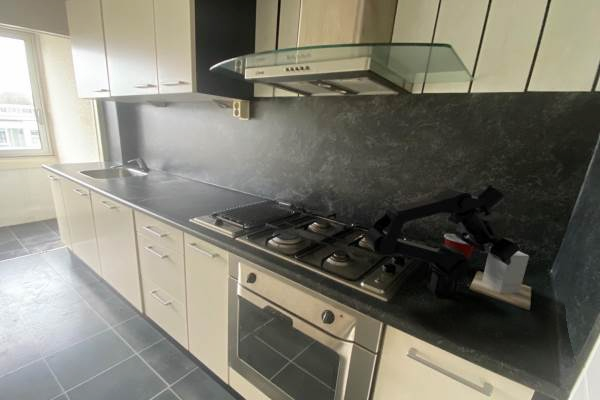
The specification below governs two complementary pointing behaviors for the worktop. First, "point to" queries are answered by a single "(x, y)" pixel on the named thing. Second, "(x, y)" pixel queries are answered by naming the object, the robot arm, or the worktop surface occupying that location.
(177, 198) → the worktop surface
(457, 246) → the plastic cup
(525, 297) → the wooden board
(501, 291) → the supplement box
